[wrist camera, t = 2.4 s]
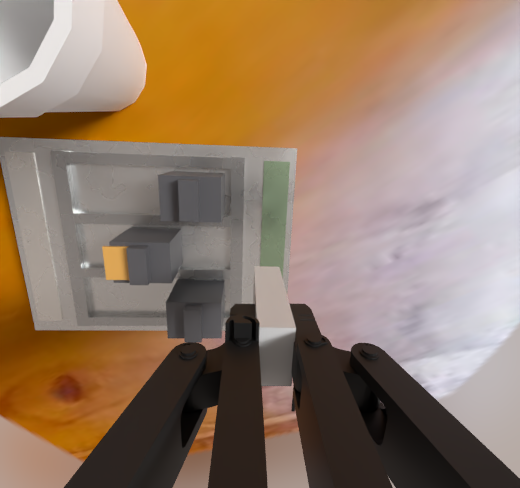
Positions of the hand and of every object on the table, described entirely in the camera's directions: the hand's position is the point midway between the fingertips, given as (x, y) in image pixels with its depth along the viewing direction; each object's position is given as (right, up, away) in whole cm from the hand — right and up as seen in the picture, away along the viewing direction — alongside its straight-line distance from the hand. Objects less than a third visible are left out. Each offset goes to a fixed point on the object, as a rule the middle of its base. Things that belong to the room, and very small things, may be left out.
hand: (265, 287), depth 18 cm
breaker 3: (-5, -2, +8) cm, 10 cm away
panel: (-9, +3, +8) cm, 12 cm away
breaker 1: (-9, +2, +7) cm, 11 cm away
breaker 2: (-5, +7, +5) cm, 10 cm away
